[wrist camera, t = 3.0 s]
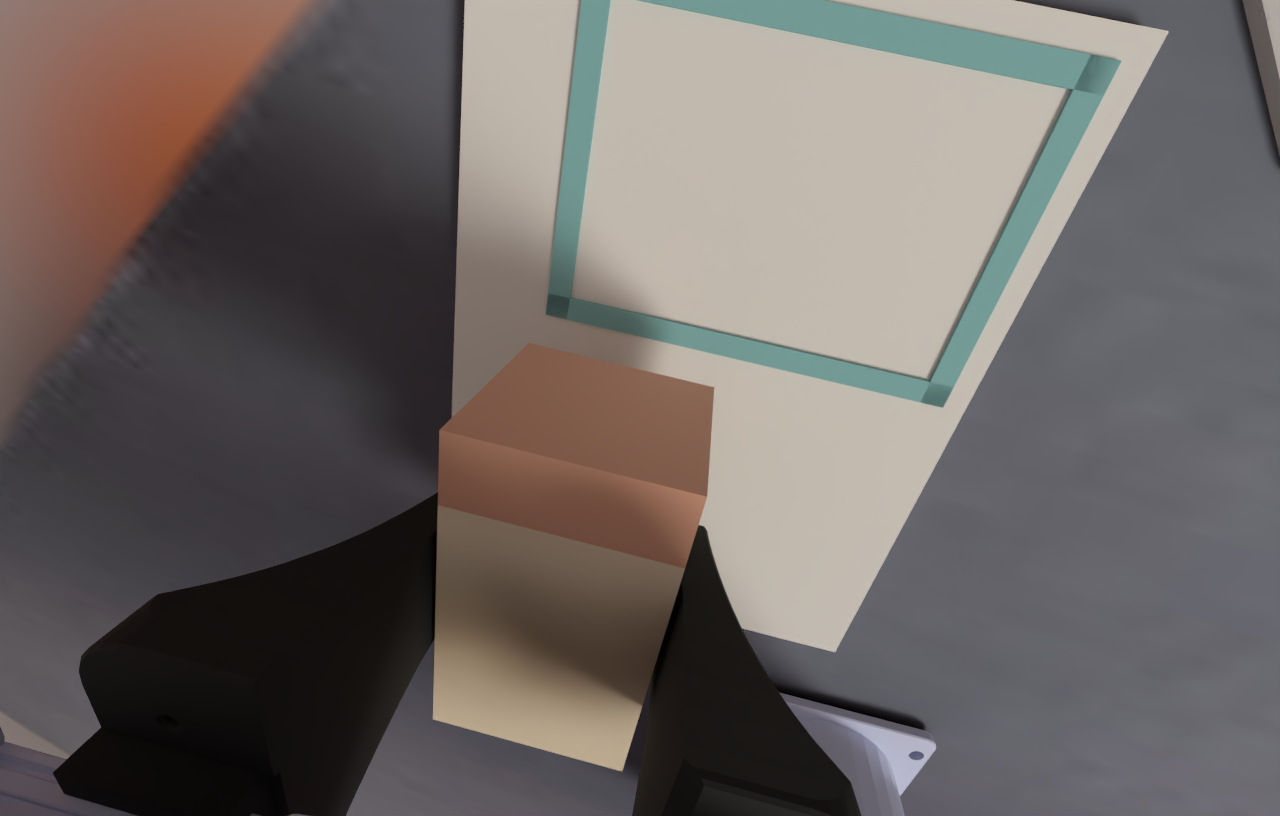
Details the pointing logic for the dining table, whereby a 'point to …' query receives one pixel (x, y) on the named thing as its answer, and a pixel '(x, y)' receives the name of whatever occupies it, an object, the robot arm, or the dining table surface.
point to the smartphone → (1267, 52)
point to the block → (564, 547)
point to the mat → (780, 236)
